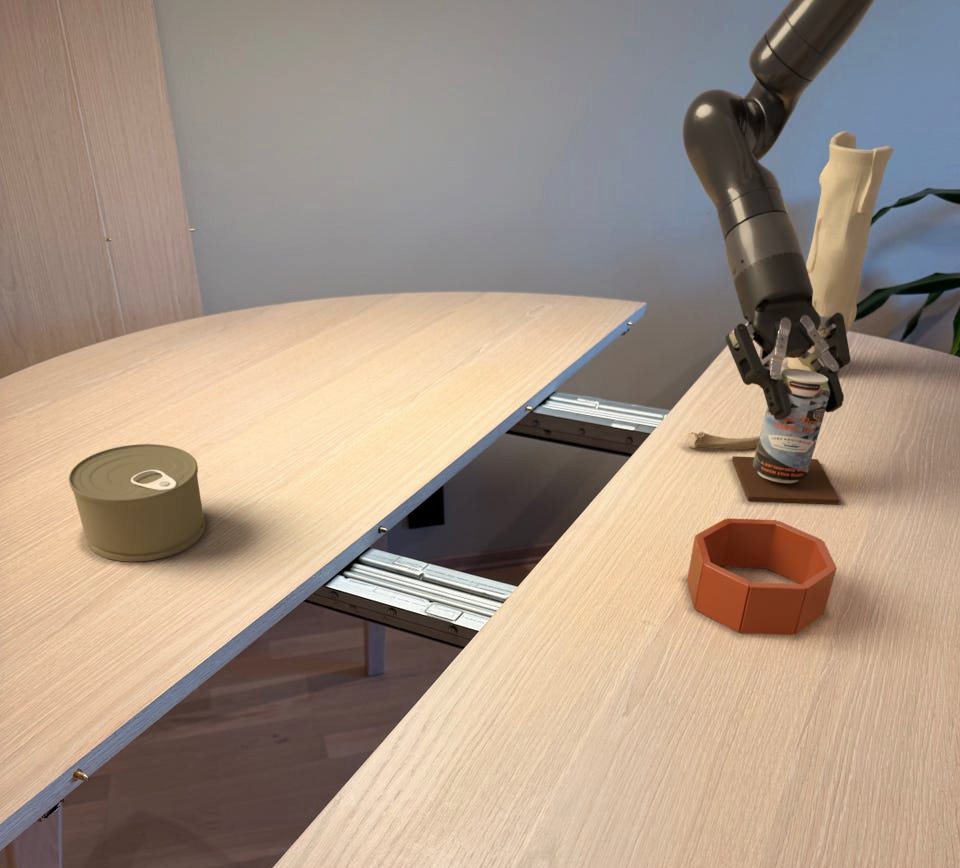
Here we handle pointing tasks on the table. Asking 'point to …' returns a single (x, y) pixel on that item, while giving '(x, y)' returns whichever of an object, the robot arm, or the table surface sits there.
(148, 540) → the can
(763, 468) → the beverage can
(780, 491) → the coaster
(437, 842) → the table surface
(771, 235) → the robot arm
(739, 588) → the octagonal ring
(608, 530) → the table surface
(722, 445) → the bone
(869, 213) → the pillar candle
